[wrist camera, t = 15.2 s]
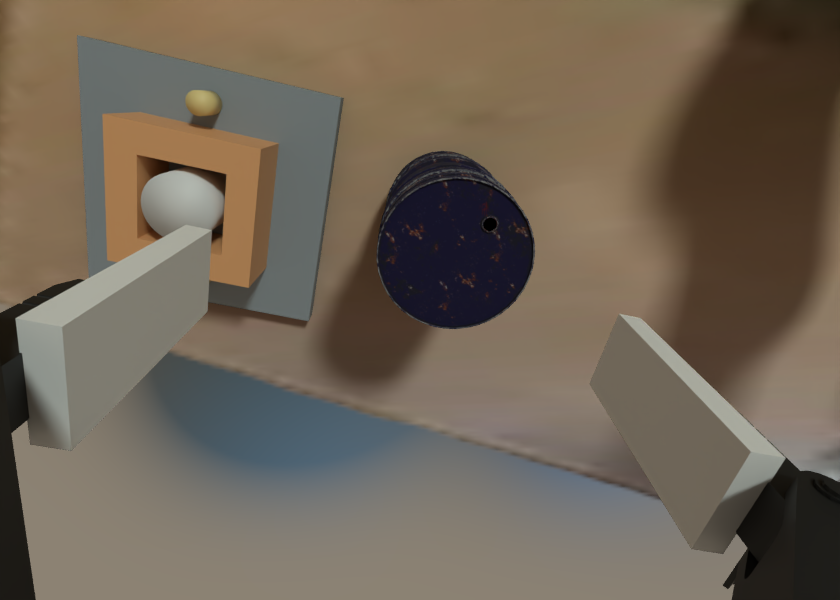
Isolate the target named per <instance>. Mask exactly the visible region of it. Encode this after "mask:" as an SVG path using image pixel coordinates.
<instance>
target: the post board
mask: <svg viewBox="0 0 840 600" xmlns="http://www.w3.org/2000/svg"><path fill="white" fill-rule="evenodd" d="M77 43H78V63H79V84H80V104H81V125H82V145H83V165H84V186H85V206H86V227H87V247H88V267H89V278H90V277H92V276H93V275H95V274H97V273H99V272H101V271H103V270H104V269H106V268H108V267H110V266H112V265H114V264H115V263H117V262H113V261H108V260H107V238H106V208H105V177H104V147H103V117H102V114H108V113H131V112H142V113H147V114H151V115H155V116H160V117H164V118H169V119H173V120H178V121H182V122H187V123H191V124H195V125H200V126H204V127H209V128H213V129H218V130H222V131H227V132H231V133H235V134H240V135H244V136H249V137H253V138H258V139H262V140H267V141H271V142H275V143H279V148H278V157H277V167H276V177H275V187H274V196H273V206H272V216H271V226H270V236H269V245H268V255H267V265H266V269H265V270H264V271H263V272H262V273H261V274H260V275H259V277H258V278H257V279H256V280H255V281H254V282H253V283H252V285H251V286H250V287H249V288H247V287H241V286H236V285H231V284H226V283H221V282H216V281H211V280H209V293H208V302H211V303H216V304H221V305H226V306H232V307H237V308H242V309H247V310H253V311H258V312H263V313H268V314H274V315H279V316H284V317H289V318H295V319H300V320H305V321H309V319H310V317H311V315H312V309H313V302H314V296H315V289H316V282H317V275H318V269H319V262H320V255H321V248H322V241H323V235H324V228H325V221H326V214H327V207H328V201H329V194H330V187H331V180H332V173H333V167H334V160H335V153H336V146H337V140H338V133H339V126H340V119H341V112H342V106H343V99H344V98H341V97H337V96H333V95H329V94H325V93H320V92H316V91H312V90H308V89H304V88H299V87H295V86H291V85H287V84H282V83H278V82H274V81H270V80H266V79H261V78H257V77H253V76H249V75H245V74H240V73H236V72H232V71H228V70H224V69H219V68H215V67H211V66H207V65H202V64H198V63H194V62H190V61H186V60H181V59H177V58H173V57H169V56H165V55H160V54H156V53H152V52H148V51H143V50H139V49H135V48H131V47H127V46H122V45H118V44H114V43H110V42H106V41H101V40H97V39H93V38H89V37H83V36H78V35H77ZM226 175H227V174H224V173H220V172H215V171H210V170H206V169H201V168H197V167H192V166H187V165H183V164H178V163H173V162H169V172H166V173H162V174H159V175H157V176H155V177H153V178H151V179H150V180H149V181H148V182H147V183H146V185H145V187H144V188H143V191H142V194H141V208H142V212H143V215H144V217H145V219H146V220H147V222H148V224H149V225H150V226H151V227H152V228H153V229H154V230H155V231H156V232H157V233H158V234H160V235H161V236H163V237H165V236H166V235H168V234H170V233H172V232H174V231H175V230H177V229H179V228H181V227H183V226H185V225H190V226H195V227H200V228H204V229H209V230H212V232H214V233H218V234H223V222H224V207H225V191H226Z"/></svg>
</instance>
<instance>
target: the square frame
mask: <svg viewBox="0 0 840 600" xmlns="http://www.w3.org/2000/svg"><path fill="white" fill-rule="evenodd" d="M102 117H103V147H104V177H105V208H106V238H107V260H108V261H113V262H119V261H121V260H123V259H124V258H126V257H128V256H130V255H132V254H134V253H135V252H137V251H139V250H141V249H143V248H144V247H146V246H148V245H150V244H152V243H154V242H155V241H157V240H159V239H161V238H163V236H161V235H160V234H158V233H157V232H156V231H155V230H154V229H153V228H152V227H151V226H150V225H149V224H148V222H147V220H146V219H145V217H144V215H143V212H142V208H141V194H142V191H143V188H144V187H145V185H146V183H147V182H148V181H149V180H150V179H151V178H153V177H155V176H157V175H159V174H162V173H166V172H169V162H173V163H178V164H183V165H187V166H192V167H197V168H201V169H206V170H210V171H215V172H220V173H224V174H227V175H226V191H225V207H224V222H223V234H218V233H214V232H212V238H211V256H210V275H209V280H211V281H216V282H221V283H226V284H231V285H236V286H241V287H247V288H249V287H250V286H251V285H252V283H253V282H254V281H255V280H256V279H257V278H258V277H259V275H260V274H261V273H262V272H263V271H264V270H265V269H266V265H267V255H268V245H269V236H270V226H271V216H272V206H273V196H274V187H275V177H276V167H277V157H278V148H279V143H275V142H271V141H267V140H262V139H258V138H253V137H249V136H244V135H240V134H235V133H231V132H227V131H222V130H218V129H213V128H209V127H204V126H200V125H195V124H191V123H187V122H182V121H178V120H173V119H169V118H164V117H160V116H155V115H151V114H147V113H142V112H131V113H108V114H102Z"/></svg>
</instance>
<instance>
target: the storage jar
mask: <svg viewBox="0 0 840 600" xmlns="http://www.w3.org/2000/svg"><path fill="white" fill-rule="evenodd" d="M534 257H535V243H534V238H533V232H532V229H531V226H530V224H529V221H528V219H527V217H526V216H525V214H524V212H523V210H522V209H521V208H520V206H519V205H518V204H517V202H516V201H515V199H514V198H513V197H512V196H511V194H510V193H509V192H508V191H507V190H506V189H505V188H504V187H503V185H502V184H500V183H499V182H498V181H497V180H496V179H495V178H494V177H493V176H492V175H491V173H490V172H488V171H487V170H486V169H485V168H484V167H482V166H481V165H480V164H478V163H477V162H475V161H474V160H472V159H470V158H468V157H466V156H464V155H461V154H459V153H454V152H448V151H438V152H431V153H428V154H424V155H422V156H420V157H418V158H416V159H414V160H413V161H411V162H410V163H409V164H408V165H406V166H405V167H404V168H403V169H402V171H401V172H400V173H399V174H398V176H397V177H396V179H395V181H394V183H393V185H392V187H391V189H390V191H389V194H388V197H387V202H386V207H385V211H384V214H383V216H382V221H381V224H380V230H379V235H378V245H377V266H378V272H379V275H380V278H381V282H382V284H383V286H384V288H385V290H386V292H387V294H388V295H389V296H390V298H391V299H392V301H393V302H394V303H395V304H396V305H397V306H398V307H399V308H400V309H401V310H402V311H403V312H405V313H406V314H407V315H409V316H410V317H412V318H414V319H416V320H417V321H419V322H421V323H424V324H427V325H430V326H433V327H439V328H445V329H460V328H468V327H472V326H477V325H480V324H482V323H485V322H487V321H490V320H491V319H493V318H495V317H497V316H498V315H500V314H501V313H503V312H504V311H505V310H506V309H508V308H509V307H510V306H511V305H512V304H513V303H514V302H515V301H516V300H517V298H518V297H519V296H520V294H521V293H522V291H523V290H524V288H525V286H526V284H527V282H528V280H529V278H530V275H531V272H532V269H533V264H534Z"/></svg>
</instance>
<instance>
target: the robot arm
mask: <svg viewBox="0 0 840 600" xmlns="http://www.w3.org/2000/svg"><path fill="white" fill-rule="evenodd" d="M211 238H212V230H209V229H204V228H200V227H195V226H190V225H185V226H183V227H181V228H179V229H177V230H175V231H174V232H172V233H170V234H168V235H166V236H165V237H163V238H161V239H159V240H157V241H155V242H154V243H152V244H150V245H148V246H146V247H144V248H143V249H141V250H139V251H137V252H135V253H134V254H132V255H130V256H128V257H126V258H124V259H123V260H121V261H119V262H117V263H115V264H114V265H112V266H110V267H108V268H106V269H104V270H103V271H101V272H99V273H97V274H95V275H93V276H92V277H90V278H88V279H86V280H82V279H77V280H73V281H69V282H65V283H61V284H57V285H54V286H52V287H50V288H48V289H46V290H44V291H42V292H40V293H38V294H37V296H32V297H31V298H29V299H27V300H25V301H23V303H22V304H17V305H15V306H13V307H11V308H9V309H7V310H5V311H3V312H1V313H0V600H36V599H35V592H34V585H33V578H32V572H31V565H30V558H29V551H28V544H27V538H26V531H25V525H24V517H23V510H22V503H21V497H20V490H19V483H18V476H17V470H16V462H15V456H14V449H13V442H12V435H11V433H12V432H13V431H14V430H16V429H17V428H18V427H19V426H21V425H22V424H23V423H24V422H25V421H28V430H29V439H30V444H31V445H37V446H43V447H50V448H56V449H63V450H68V451H72V450H73V449H74V448H75V447H76V446H77V445H78V444H79V443H80V442H81V441H82V440H83V439H84V438H85V437H86V436H87V435H88V434H89V433H90V431H92V429H93V428H94V427H95V426H96V425H97V424H98V423H99V422H100V421H101V420H102V419H103V418H104V417H105V416H106V415H107V414H108V413H109V412H110V411H111V410H112V409H113V408H114V407H115V406H116V405H117V404H118V403H119V402H120V401H121V400H122V399H123V398H124V396H126V395H127V394H128V393H129V392H130V390H131V389H132V388H133V387H134V386H135V385H136V384H137V383H138V382H139V381H140V380H141V379H142V378H143V377H144V376H145V375H146V374H147V373H148V372H149V371H150V370H151V369H152V368H153V367H154V366H155V365H156V364H157V363H158V362H159V361H160V360H161V359H162V358H163V357H164V356H165V355H166V354H167V352H168V351H169V350H170V349H171V348H172V347H173V346H174V345H175V344H176V343H177V342H178V341H179V340H180V339H181V338H182V337H183V336H184V335H185V334H186V333H187V332H188V331H189V330H190V329H191V328H192V327H193V326H194V325H195V324H196V323H197V322H198V321H199V320H200V319H201V318H202V317H203V316H204V315H205V313H206V312H207V311H208V293H209V275H210V256H211ZM590 386H591V387H592V389H593V390H594V392H595V394H596V395H597V397H598V398H599V400H600V402H601V403H602V405H603V407H604V408H605V410H606V411H607V413H608V415H609V416H610V418H611V420H612V421H613V423H614V424H615V426H616V428H617V429H618V431H619V432H620V434H621V436H622V437H623V439H624V441H625V442H626V444H627V445H628V447H629V449H630V450H631V452H632V454H633V455H634V457H635V458H636V460H637V462H638V463H639V465H640V467H641V468H642V470H643V471H644V473H645V475H646V476H647V478H648V479H649V481H650V483H651V484H652V486H653V488H654V489H655V491H656V492H657V494H658V496H659V497H660V499H661V501H662V502H663V504H664V505H665V507H666V509H667V510H668V512H669V513H670V515H671V517H672V518H673V520H674V521H675V523H676V525H677V526H678V528H679V530H680V531H681V533H682V534H683V536H684V538H685V539H686V541H687V543H688V544H689V546H690V547H691V549H695V550H701V551H707V552H713V553H720V554H723V553H724V552H725V550H726V549H727V547H728V546H729V544H730V543H731V541H732V540H733V538H734V537H735V535H736V534H738V536H739V537H740V538H741V540H742V541H743V542H744V543H745V545H746V546H747V548H748V549H747V550H746V552H745V553H744V555H743V556H742V558H741V559H740V561H739V562H738V564H737V565H736V566H735V568H734V569H733V571H732V572H731V574H730V575H729V577H728V578H727V580H726V581H725V583H724V584H723V586H724V587H726V588H727V589H728V588H729V587H730V586H731V585H732V584H735V585H734V590H733V596H732V600H840V482H837V481H835V480H834V479H831V478H829V477H827V476H824V475H822V474H819V473H815V472H811V471H800V470H799V469H798V468H797V467H796V466H794V465H793V464H792V463H791V462H790V461H789V460H788V459H787V458H786V457H785V456H784V455H783V454H782V453H781V452H780V451H779V450H778V449H777V448H776V447H775V446H774V445H773V444H772V443H771V442H770V441H768V440H766V439H765V437H764V436H763V435H762V434H761V433H760V432H759V431H758V430H757V429H755V428H754V426H753V425H752V424H751V423H750V422H749V421H748V420H747V419H746V418H745V417H744V416H742V415H741V414H740V413H739V412H738V411H736V410H735V409H734V408H733V407H732V406H731V405H730V404H729V403H728V402H727V401H726V400H725V399H724V398H723V397H722V396H721V395H720V394H719V393H718V392H717V391H716V390H715V389H714V388H713V387H712V386H710V385H709V384H708V383H707V382H706V381H705V380H704V379H703V378H702V377H701V376H700V375H699V374H698V373H697V372H696V371H695V370H694V369H693V368H692V367H691V366H690V365H689V364H688V363H687V362H686V361H685V360H684V359H682V358H681V357H680V356H679V355H678V354H677V353H676V352H675V351H674V350H673V349H672V348H671V347H670V346H669V345H668V344H667V343H666V342H665V341H664V340H663V339H662V338H661V337H660V336H659V335H658V334H657V333H656V332H654V331H653V330H652V329H651V328H650V327H649V326H648V325H647V324H646V323H645V322H644V321H643V320H642V319H641V318H637V317H632V316H627V315H622V314H619V315H618V317H617V320H616V322H615V324H614V327H613V329H612V332H611V334H610V336H609V339H608V341H607V343H606V346H605V348H604V351H603V353H602V355H601V358H600V360H599V362H598V365H597V367H596V370H595V372H594V374H593V377H592V379H591V381H590Z"/></svg>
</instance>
